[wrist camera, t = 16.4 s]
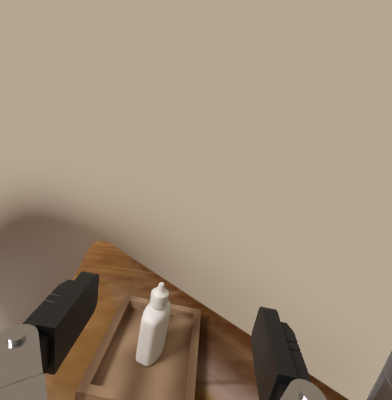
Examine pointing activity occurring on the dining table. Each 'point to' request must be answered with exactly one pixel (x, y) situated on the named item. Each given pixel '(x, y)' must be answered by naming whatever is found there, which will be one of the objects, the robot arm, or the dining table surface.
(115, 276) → the dining table surface
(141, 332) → the eye dropper bottle
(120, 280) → the dining table surface
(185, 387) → the walnut tray
